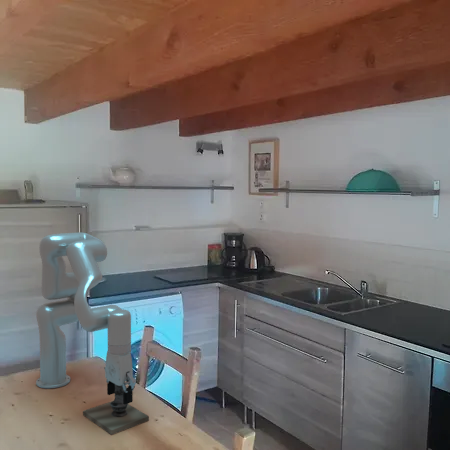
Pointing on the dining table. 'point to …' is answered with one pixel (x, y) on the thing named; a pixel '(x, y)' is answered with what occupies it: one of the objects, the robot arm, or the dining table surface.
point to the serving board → (115, 418)
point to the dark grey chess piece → (118, 403)
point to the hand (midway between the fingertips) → (119, 398)
